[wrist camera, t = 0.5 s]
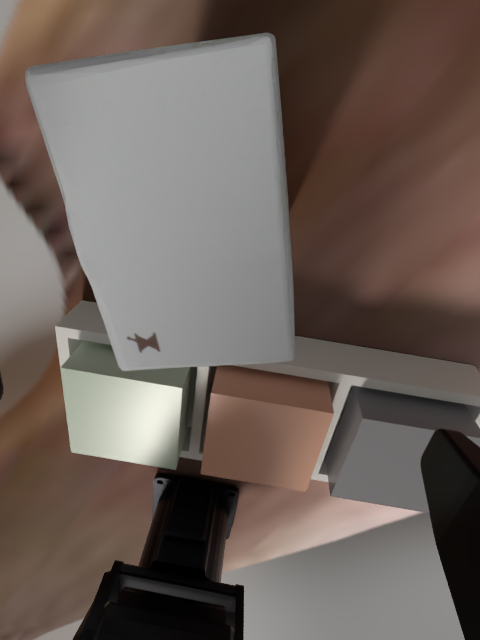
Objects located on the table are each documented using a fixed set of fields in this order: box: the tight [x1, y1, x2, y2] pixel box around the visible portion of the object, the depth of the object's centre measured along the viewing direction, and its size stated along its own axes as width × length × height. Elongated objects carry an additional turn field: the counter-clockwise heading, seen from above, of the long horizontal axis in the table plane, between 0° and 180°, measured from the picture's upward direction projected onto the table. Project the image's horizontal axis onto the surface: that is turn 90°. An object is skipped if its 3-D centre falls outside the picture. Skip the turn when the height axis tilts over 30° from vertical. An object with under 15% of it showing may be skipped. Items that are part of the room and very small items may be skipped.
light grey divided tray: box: [55, 300, 480, 482], centre depth 22 cm, size 8×23×3 cm, turn 82°
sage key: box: [61, 341, 192, 470], centre depth 21 cm, size 6×6×2 cm
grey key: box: [326, 386, 480, 513], centre depth 20 cm, size 6×6×2 cm
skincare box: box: [25, 33, 295, 371], centre depth 12 cm, size 6×4×12 cm
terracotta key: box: [201, 365, 334, 492], centre depth 20 cm, size 6×6×2 cm
